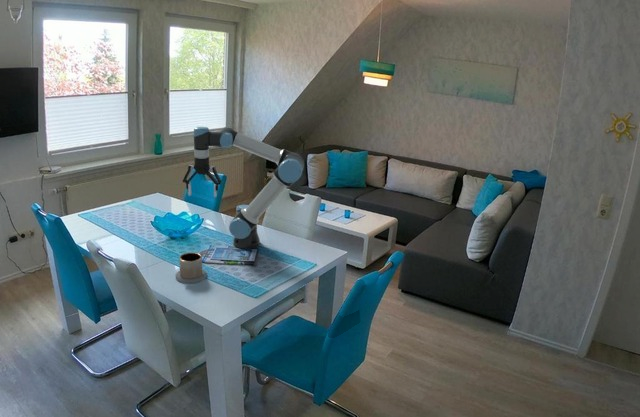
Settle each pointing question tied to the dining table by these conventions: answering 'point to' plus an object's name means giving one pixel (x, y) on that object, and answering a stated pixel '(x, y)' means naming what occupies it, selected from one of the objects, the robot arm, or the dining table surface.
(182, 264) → the planter
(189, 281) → the saucer
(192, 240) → the dining table surface
